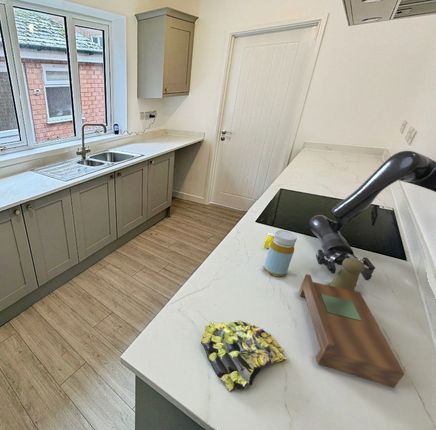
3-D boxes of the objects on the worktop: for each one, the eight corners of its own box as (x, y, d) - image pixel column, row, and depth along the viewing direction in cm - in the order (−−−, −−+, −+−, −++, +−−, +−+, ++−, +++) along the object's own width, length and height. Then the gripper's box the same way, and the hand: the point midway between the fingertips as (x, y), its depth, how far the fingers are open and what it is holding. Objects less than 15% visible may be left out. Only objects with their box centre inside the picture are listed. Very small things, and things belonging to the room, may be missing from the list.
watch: (268, 251, 104) (272, 238, 101) (261, 248, 106) (264, 235, 103) (274, 245, 107) (278, 232, 105) (267, 242, 109) (270, 230, 106)
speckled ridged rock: (256, 322, 75) (269, 310, 70) (292, 388, 63) (310, 379, 58) (192, 325, 70) (202, 313, 66) (218, 396, 58) (231, 387, 54)
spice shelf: (353, 304, 79) (363, 285, 75) (394, 387, 57) (410, 366, 54) (298, 292, 84) (305, 273, 80) (317, 364, 62) (328, 343, 59)
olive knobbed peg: (352, 286, 85) (366, 258, 80) (355, 297, 81) (370, 269, 76) (329, 279, 88) (341, 253, 83) (331, 290, 84) (344, 263, 79)
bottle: (288, 270, 93) (300, 234, 86) (282, 280, 89) (295, 242, 82) (266, 262, 98) (277, 227, 91) (260, 271, 93) (271, 235, 86)
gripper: (315, 234, 95) (327, 259, 82) (365, 242, 90) (386, 270, 76) (308, 251, 98) (319, 278, 85) (356, 260, 93) (375, 290, 80)
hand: (350, 274), depth 81 cm, fingers open, 8 cm apart
